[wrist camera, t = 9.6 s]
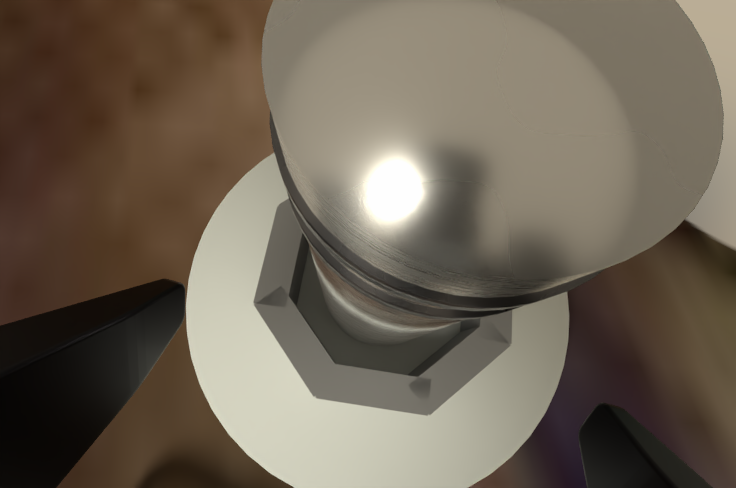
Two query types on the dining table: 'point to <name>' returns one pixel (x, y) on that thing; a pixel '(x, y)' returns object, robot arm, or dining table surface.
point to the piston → (483, 147)
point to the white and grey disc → (353, 364)
